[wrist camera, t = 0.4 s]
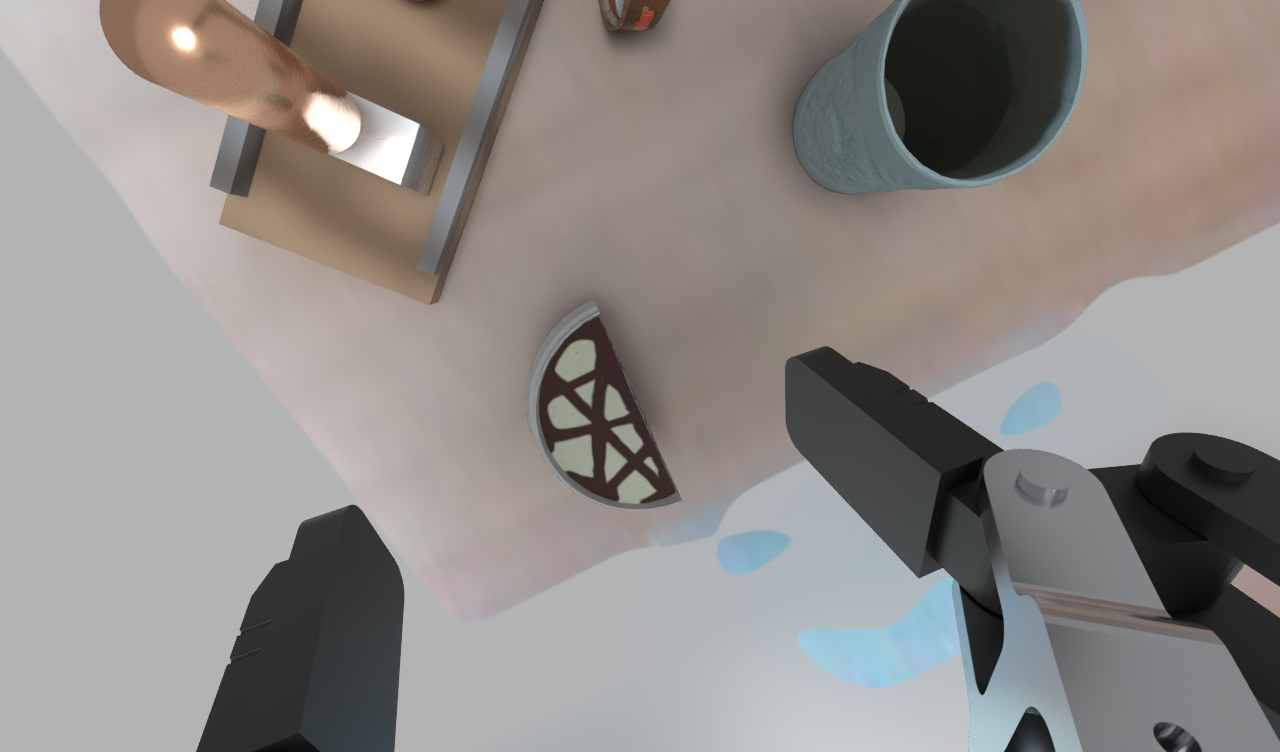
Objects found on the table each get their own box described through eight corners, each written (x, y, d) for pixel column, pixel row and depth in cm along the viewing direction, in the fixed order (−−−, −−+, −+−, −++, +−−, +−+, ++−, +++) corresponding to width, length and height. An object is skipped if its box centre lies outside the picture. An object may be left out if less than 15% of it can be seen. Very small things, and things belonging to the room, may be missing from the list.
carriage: (298, 78, 28) (11, -111, 14) (444, 143, 30) (327, 37, 15) (281, 136, 29) (-12, 13, 14) (426, 197, 30) (296, 143, 16)
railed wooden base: (350, -164, 28) (267, -323, 20) (560, -48, 31) (557, -151, 23) (240, 225, 32) (133, 215, 24) (437, 301, 34) (398, 315, 26)
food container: (503, 325, 35) (478, 352, 25) (588, 289, 35) (595, 301, 25) (579, 480, 38) (583, 556, 28) (656, 445, 38) (686, 509, 29)
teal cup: (946, 94, 35) (1130, 15, 24) (874, 234, 37) (1014, 224, 25) (822, 16, 33) (957, -113, 22) (751, 168, 35) (842, 124, 23)
